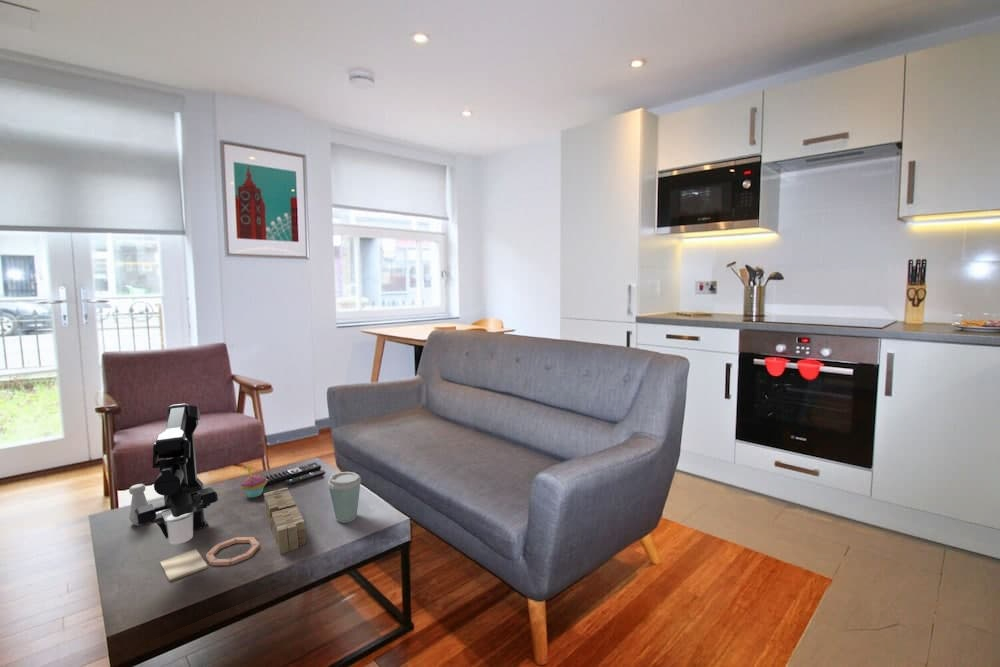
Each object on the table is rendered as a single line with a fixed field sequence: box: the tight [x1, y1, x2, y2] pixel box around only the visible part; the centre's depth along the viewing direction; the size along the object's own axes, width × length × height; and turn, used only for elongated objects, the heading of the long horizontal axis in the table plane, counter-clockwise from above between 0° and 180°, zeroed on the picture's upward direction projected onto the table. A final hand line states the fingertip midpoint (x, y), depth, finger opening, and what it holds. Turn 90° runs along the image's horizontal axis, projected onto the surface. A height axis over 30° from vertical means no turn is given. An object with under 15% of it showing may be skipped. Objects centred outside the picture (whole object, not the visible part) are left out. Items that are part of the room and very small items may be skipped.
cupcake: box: [240, 463, 268, 499], centre depth 182 cm, size 9×8×12 cm
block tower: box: [263, 487, 307, 555], centre depth 157 cm, size 8×8×29 cm
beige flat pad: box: [159, 548, 208, 583], centre depth 138 cm, size 12×9×1 cm
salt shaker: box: [128, 483, 149, 527], centre depth 162 cm, size 6×6×13 cm
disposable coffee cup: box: [327, 471, 362, 524], centre depth 162 cm, size 11×11×15 cm
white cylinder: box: [163, 512, 194, 545], centre depth 137 cm, size 7×7×7 cm
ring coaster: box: [205, 536, 260, 566], centre depth 144 cm, size 13×13×1 cm
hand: (180, 533), depth 137 cm, fingers closed on white cylinder, 6 cm apart
